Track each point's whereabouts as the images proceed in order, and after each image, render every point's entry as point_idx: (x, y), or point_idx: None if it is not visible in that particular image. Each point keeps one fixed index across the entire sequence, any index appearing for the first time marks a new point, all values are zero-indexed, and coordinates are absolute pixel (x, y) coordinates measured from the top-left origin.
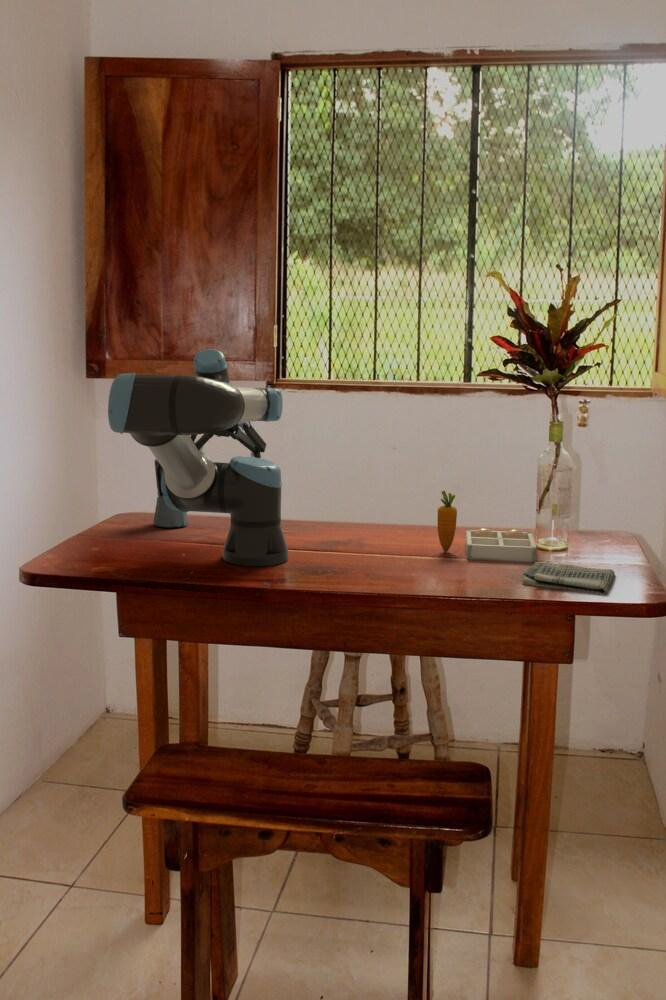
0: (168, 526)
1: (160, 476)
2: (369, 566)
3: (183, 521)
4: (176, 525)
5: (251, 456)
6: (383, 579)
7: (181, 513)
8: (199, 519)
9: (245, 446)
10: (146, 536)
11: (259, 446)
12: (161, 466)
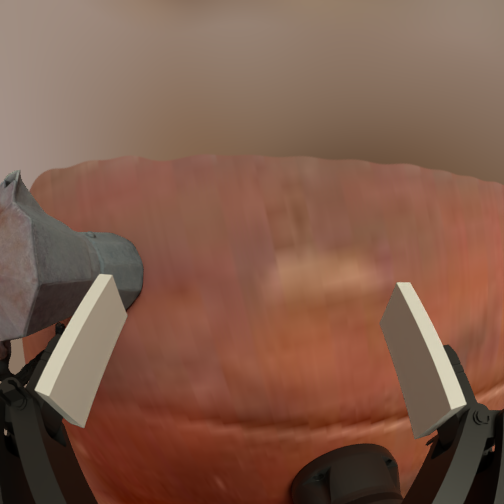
0: None
1: (30, 375)
2: None
3: (135, 292)
4: (127, 307)
5: (413, 424)
6: None
7: (122, 294)
8: (156, 192)
9: (403, 502)
10: (103, 377)
11: (476, 473)
12: (8, 377)
